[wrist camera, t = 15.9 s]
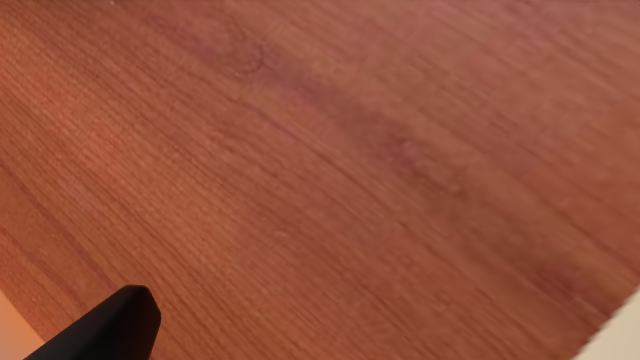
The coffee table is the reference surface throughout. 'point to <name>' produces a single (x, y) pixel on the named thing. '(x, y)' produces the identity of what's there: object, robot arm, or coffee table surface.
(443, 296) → the coffee table surface
